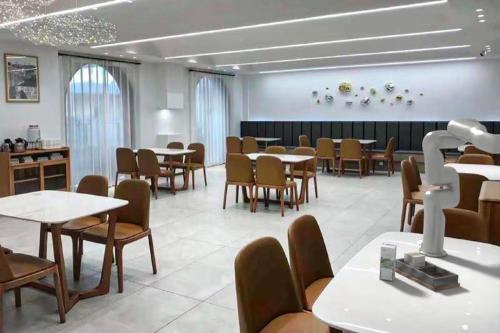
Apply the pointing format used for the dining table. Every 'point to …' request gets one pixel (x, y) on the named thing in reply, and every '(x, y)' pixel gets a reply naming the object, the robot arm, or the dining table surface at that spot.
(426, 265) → the divided tray
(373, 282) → the dining table surface
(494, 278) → the dining table surface
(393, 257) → the syrup box
